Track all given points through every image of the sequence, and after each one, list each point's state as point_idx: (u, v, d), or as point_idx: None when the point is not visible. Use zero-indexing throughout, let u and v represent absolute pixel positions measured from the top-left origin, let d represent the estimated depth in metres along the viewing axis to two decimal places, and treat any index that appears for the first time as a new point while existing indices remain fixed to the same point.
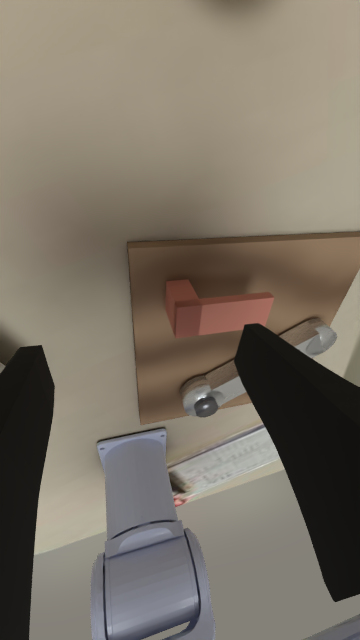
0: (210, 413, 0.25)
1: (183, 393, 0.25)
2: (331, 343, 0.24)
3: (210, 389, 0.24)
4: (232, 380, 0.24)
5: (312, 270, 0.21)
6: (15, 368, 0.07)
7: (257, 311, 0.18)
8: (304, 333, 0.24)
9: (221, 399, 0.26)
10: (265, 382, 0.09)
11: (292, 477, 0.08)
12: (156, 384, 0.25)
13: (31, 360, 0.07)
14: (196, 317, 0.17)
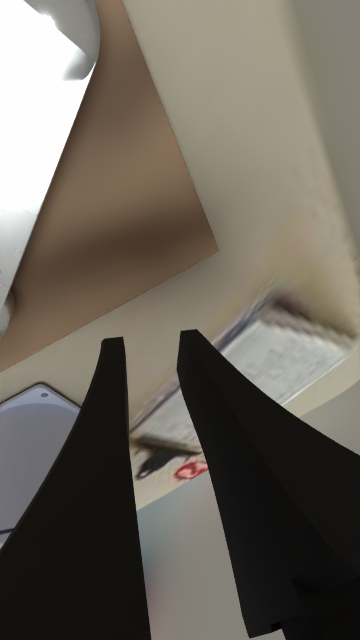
0: None
1: None
2: (86, 7, 0.08)
3: None
4: None
5: None
6: (111, 357, 0.08)
7: None
8: None
9: None
10: (196, 393, 0.09)
11: (218, 497, 0.08)
12: None
13: (122, 350, 0.08)
14: None
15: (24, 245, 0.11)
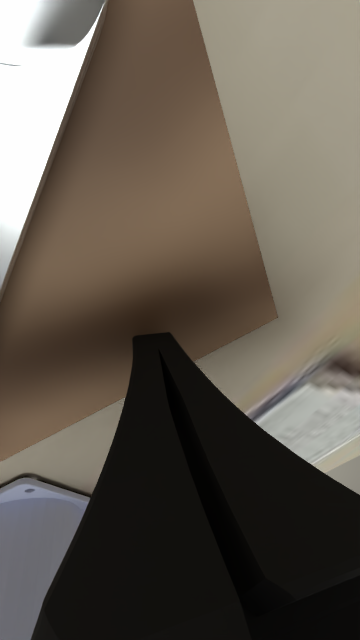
0: None
1: None
2: None
3: None
4: None
5: None
6: (145, 352, 0.08)
7: None
8: None
9: None
10: None
11: None
12: None
13: (154, 346, 0.08)
14: None
15: None
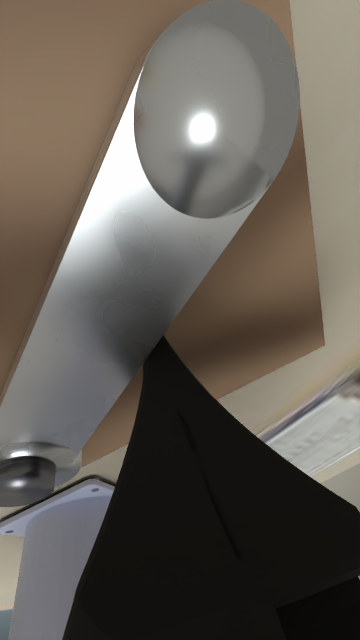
0: (43, 491, 0.10)
1: None
2: (285, 105, 0.05)
3: None
4: (3, 410, 0.08)
5: None
6: (157, 351, 0.08)
7: None
8: (113, 127, 0.05)
9: (53, 450, 0.09)
10: None
11: None
12: None
13: (166, 345, 0.08)
14: None
15: (119, 393, 0.08)
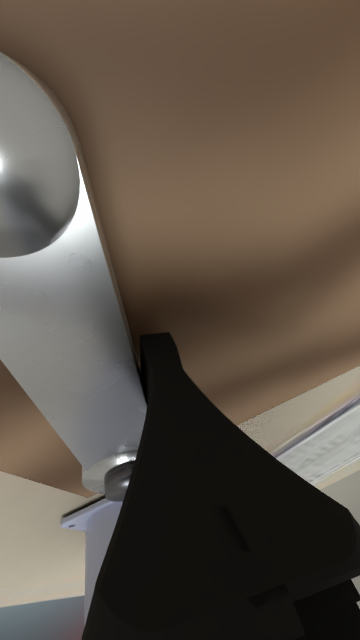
0: None
1: None
2: None
3: (85, 468, 0.11)
4: (71, 446, 0.09)
5: None
6: (165, 350, 0.08)
7: None
8: None
9: (136, 453, 0.11)
10: None
11: None
12: (32, 457, 0.13)
13: (173, 344, 0.08)
14: None
15: (144, 401, 0.09)
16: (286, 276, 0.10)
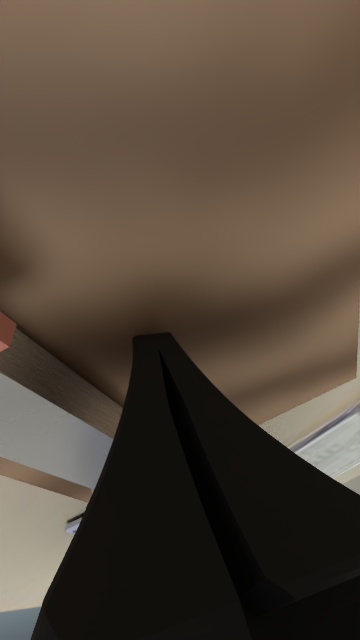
0: None
1: None
2: None
3: (91, 485, 0.12)
4: (58, 475, 0.11)
5: (163, 57, 0.06)
6: (145, 352, 0.08)
7: None
8: None
9: None
10: None
11: None
12: None
13: (155, 346, 0.08)
14: None
15: (95, 430, 0.09)
16: (280, 303, 0.11)
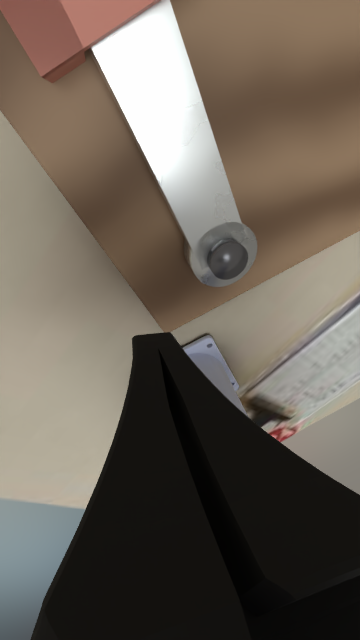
0: (242, 255, 0.15)
1: None
2: None
3: (192, 252, 0.15)
4: (178, 216, 0.13)
5: None
6: (145, 353, 0.08)
7: None
8: None
9: (225, 229, 0.14)
10: None
11: None
12: (143, 258, 0.16)
13: (154, 346, 0.08)
14: None
15: (218, 154, 0.12)
16: (353, 81, 0.13)
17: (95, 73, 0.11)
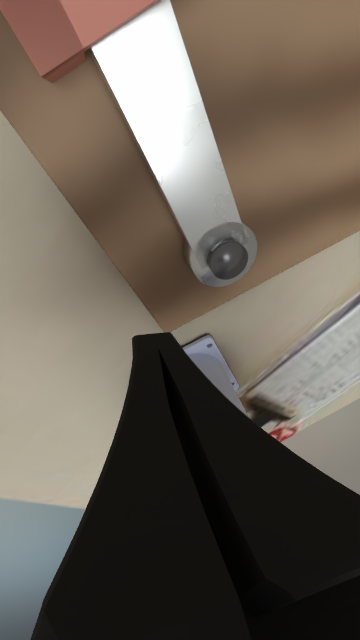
0: (242, 255, 0.15)
1: None
2: None
3: (192, 252, 0.15)
4: (178, 216, 0.13)
5: None
6: (145, 353, 0.08)
7: None
8: None
9: (225, 229, 0.14)
10: None
11: None
12: (143, 258, 0.16)
13: (154, 346, 0.08)
14: None
15: (218, 154, 0.12)
16: (353, 81, 0.13)
17: (95, 73, 0.11)
